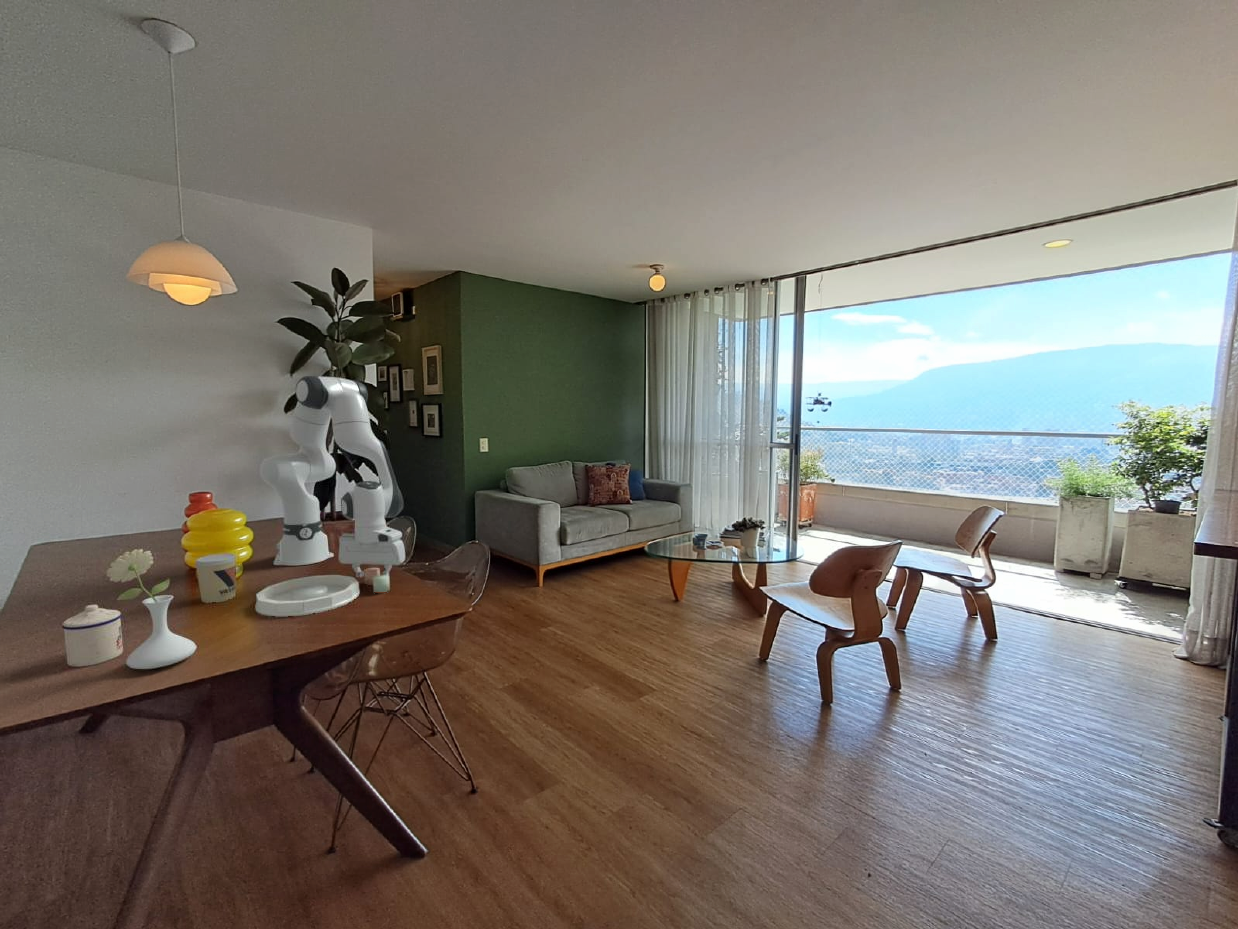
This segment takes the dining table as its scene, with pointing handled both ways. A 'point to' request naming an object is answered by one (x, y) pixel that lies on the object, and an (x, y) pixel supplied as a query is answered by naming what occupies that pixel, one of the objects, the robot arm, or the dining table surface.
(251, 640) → the dining table surface
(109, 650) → the teacup with lid
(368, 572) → the terracotta bead
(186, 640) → the flower in vase
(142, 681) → the dining table surface
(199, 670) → the dining table surface
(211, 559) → the coffee cup
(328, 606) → the groove tray
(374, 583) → the sage bead
